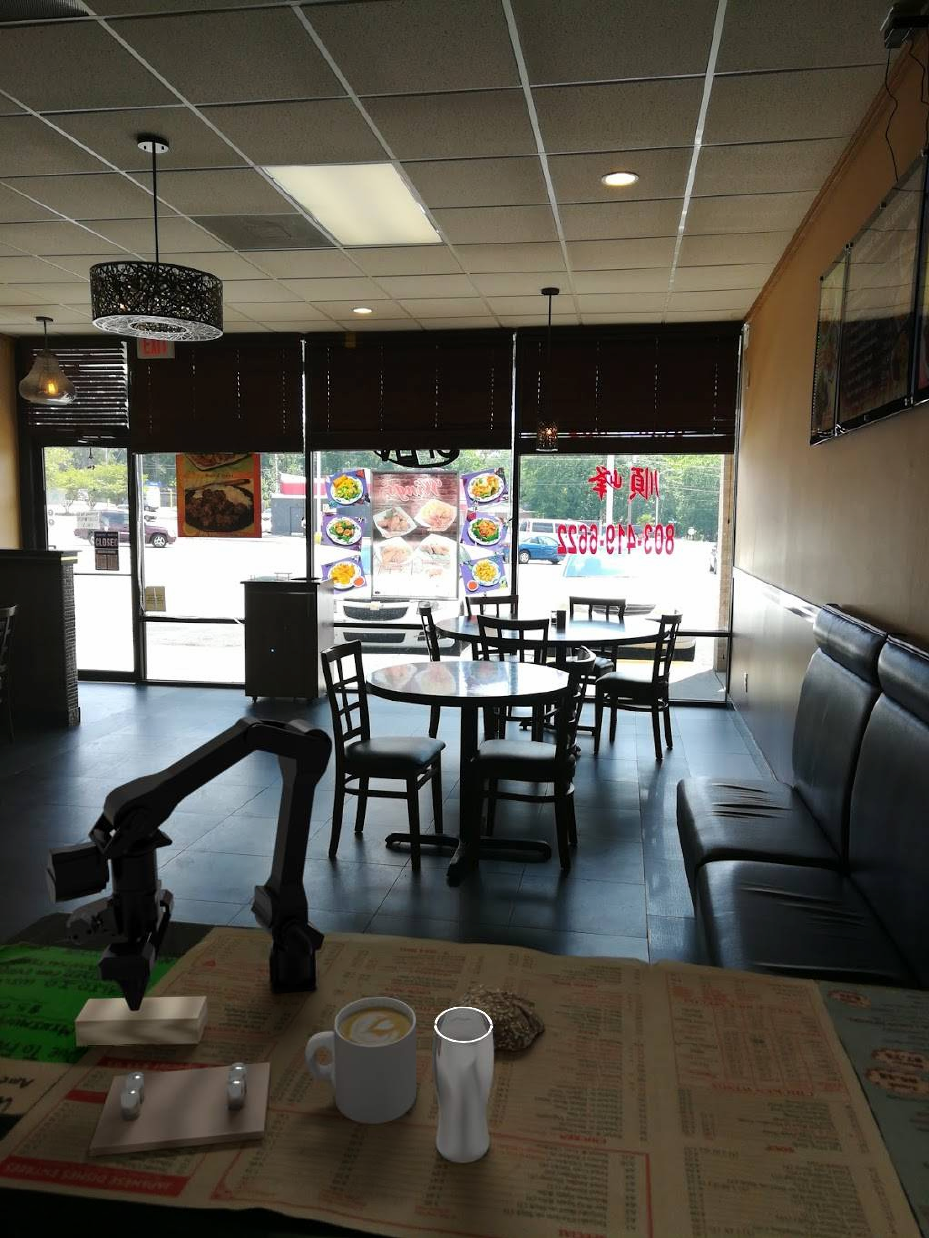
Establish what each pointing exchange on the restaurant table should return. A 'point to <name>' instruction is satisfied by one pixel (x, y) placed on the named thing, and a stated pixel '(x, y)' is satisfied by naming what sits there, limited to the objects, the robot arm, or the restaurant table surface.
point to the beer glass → (463, 1081)
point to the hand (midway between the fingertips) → (142, 989)
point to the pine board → (142, 1021)
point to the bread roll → (505, 1016)
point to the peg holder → (183, 1109)
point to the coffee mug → (369, 1059)
